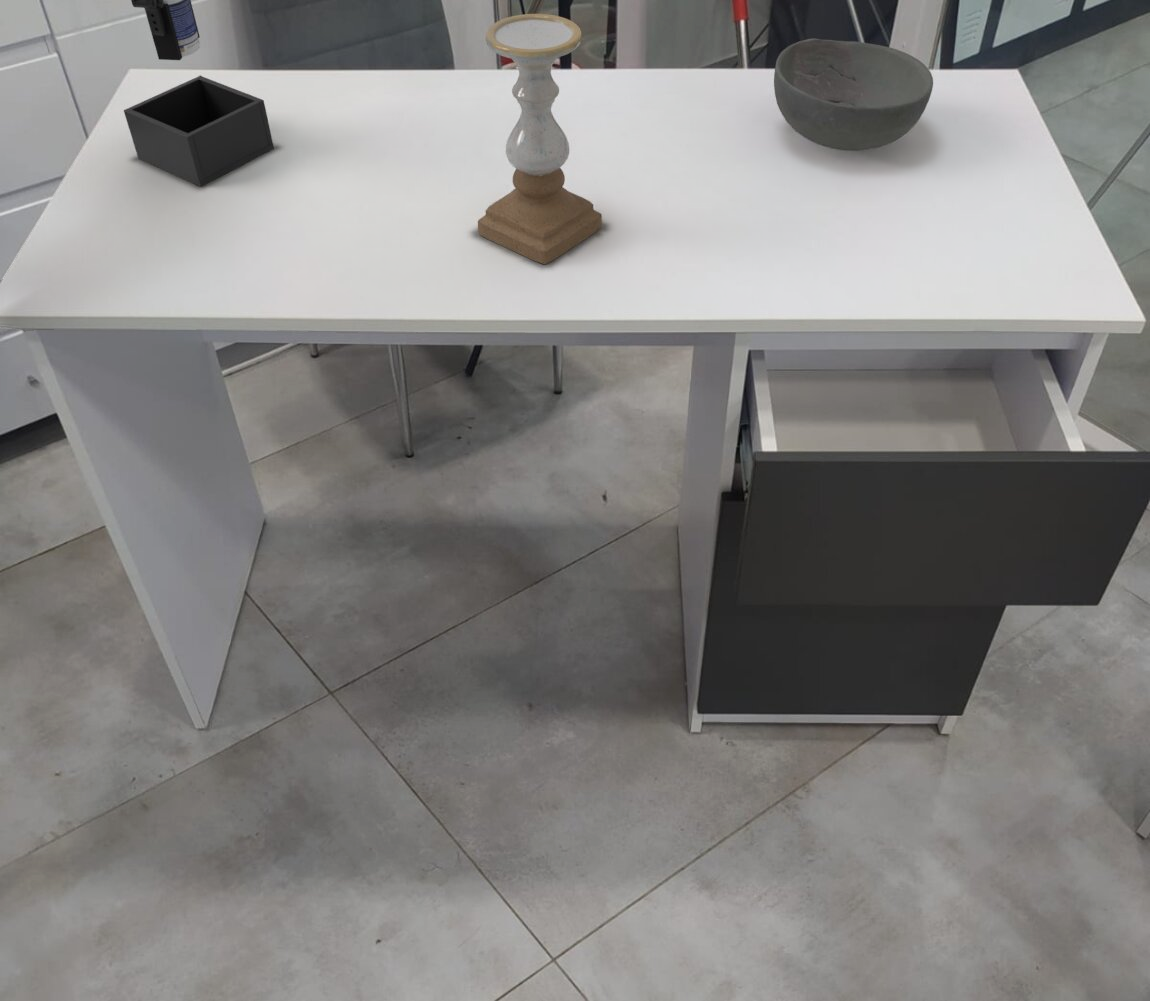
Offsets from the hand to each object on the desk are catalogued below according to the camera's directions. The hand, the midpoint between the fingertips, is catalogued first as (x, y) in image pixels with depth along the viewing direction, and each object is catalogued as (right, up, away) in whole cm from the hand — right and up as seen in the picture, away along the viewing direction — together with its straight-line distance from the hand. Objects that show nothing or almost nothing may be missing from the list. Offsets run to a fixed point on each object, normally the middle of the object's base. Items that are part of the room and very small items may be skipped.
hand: (179, 47), depth 139 cm
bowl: (+85, -8, +12) cm, 87 cm away
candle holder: (+45, -24, -4) cm, 51 cm away
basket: (0, -10, +10) cm, 14 cm away
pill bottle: (0, 0, 0) cm, 1 cm away
